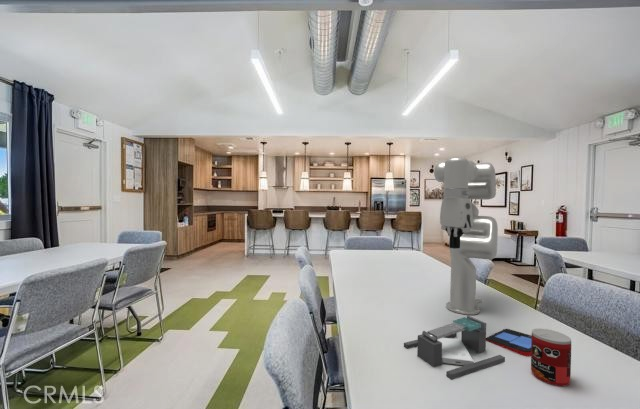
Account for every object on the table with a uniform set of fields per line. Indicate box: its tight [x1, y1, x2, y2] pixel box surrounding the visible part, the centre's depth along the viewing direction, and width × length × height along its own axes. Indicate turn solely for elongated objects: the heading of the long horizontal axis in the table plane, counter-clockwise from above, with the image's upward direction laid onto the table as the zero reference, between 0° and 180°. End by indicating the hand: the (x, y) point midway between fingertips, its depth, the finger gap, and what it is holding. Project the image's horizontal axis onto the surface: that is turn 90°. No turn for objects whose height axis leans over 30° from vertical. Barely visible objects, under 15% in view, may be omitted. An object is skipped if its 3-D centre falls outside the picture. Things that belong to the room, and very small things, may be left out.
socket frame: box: [403, 315, 506, 380], centre depth 83 cm, size 21×18×9 cm
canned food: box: [530, 328, 572, 387], centre depth 73 cm, size 8×8×11 cm
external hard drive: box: [438, 338, 475, 366], centre depth 83 cm, size 2×8×12 cm
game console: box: [486, 328, 532, 357], centre depth 91 cm, size 14×13×2 cm
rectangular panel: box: [421, 316, 481, 342], centre depth 83 cm, size 18×6×1 cm, turn 114°
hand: (454, 247), depth 97 cm, fingers closed
